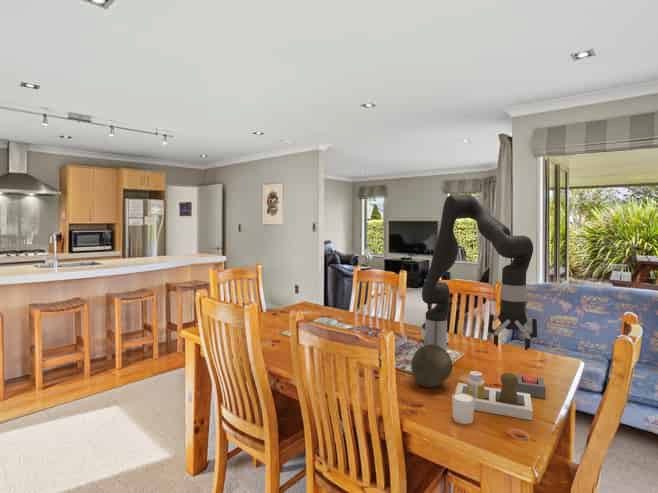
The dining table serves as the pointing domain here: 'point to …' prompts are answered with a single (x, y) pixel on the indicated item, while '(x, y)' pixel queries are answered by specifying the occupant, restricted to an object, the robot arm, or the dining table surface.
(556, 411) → the dining table surface
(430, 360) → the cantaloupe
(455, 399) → the white cylinder
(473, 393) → the supplement bottle
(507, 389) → the olive gourd
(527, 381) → the button
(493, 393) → the window frame
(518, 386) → the button housing
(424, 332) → the spread jar
